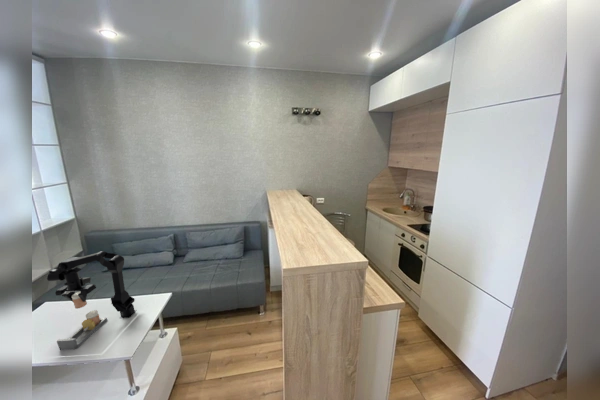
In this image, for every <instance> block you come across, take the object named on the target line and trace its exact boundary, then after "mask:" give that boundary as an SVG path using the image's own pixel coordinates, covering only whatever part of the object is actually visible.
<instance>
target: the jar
mask: <svg viewBox="0 0 600 400" xmlns="http://www.w3.org/2000/svg"><path fill="white" fill-rule="evenodd" d="M80 293H81V292H80V291H76V292H75V293H74V294H73V295H72V296H71V297H72V300H73V302H72V303H73V306H74V308H75V309H82V308H84V307H86V305H88V302H87V300H86V301H85V302H83V301H82V300H81V299H80V297H79V296H78V294H80Z"/></svg>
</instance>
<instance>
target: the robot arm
mask: <svg viewBox="0 0 600 400" xmlns="http://www.w3.org/2000/svg"><path fill="white" fill-rule="evenodd" d="M106 259H108V260H106ZM93 262H98V263H100V265H101V266H103V267H105V268H106V269H107V271H108V272H110V273H111V278H112V285H113V290H114V291H113V292H114V295H112V296H111V297H110V301H111V303H110V305H112V306H113V308H114V309H115V310H116V311H117V312H119V314H120V319H129V318H131V317H132V316H133V315H134V314H135V313H136V312H137V309H136V310H135V307H134V304H133V303H135V301H136V298H134V297H132V296H131V295H129V292H128V291H127V290H125V289H126V288H125V282H124V275H123V267H124V265H125V258H124V256H122V255H119V254H117V253H113V252H108V251H107V252H106V251H104V250H101V251H98V252H95V253H92V254H88V255H84V256H80V257H79V256H74V257H73V256H72V257H68V258H66V259H65V260H63V261H61V262H59V263H58V265H57V268H53V269H50V270H49V271H48V272H49V273H48V274H47V276H46V277H47V278H46V279H47V281H48V282H50V283H51V282H52V283H53V282H60V281H61V282H62V281H64V280H65V283H64V284H63V286H61V287H60V288H58V289H57V290H55V296H62V297H63V298H66V299H68V300H69V301H71V302H72V303H73V300H72V297H71V296H72V295H73V294H74V293H76V292H81V293H80V294H78V296H79V297H80V299H81V300H82V301H83V302H85V301H86V302H87V297H88V294H89V293H91V292H93V291H94V290H96V289H97V286H96V284H93V283H92V284H88V283H91V279H92V278H91V276H88V277H82V276H80V275H79V272H80V271H81V270H82V268H79V267H78V266H82V265H85V264H88V263H93ZM86 284H87V285H86Z"/></svg>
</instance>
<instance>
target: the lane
mask: <svg viewBox="0 0 600 400" xmlns="http://www.w3.org/2000/svg"><path fill="white" fill-rule="evenodd" d="M100 321H101V322H100V323H99V324H98V325H97V326H96V327H95V328H94V329H92V330H86V331H83V330H84V329H83V326H81V328H79V329H78V331H76V332H75V333H74V334H72V335H71V336H70V337H69V338H59V339H57V340H56V343H57V346H58V349H59V351H62V350H63V351H67V350H77V349H78V348H79V347H80V346H81V345H82V344H83V343H84V342H85V341H87V340H88V339H89V337H91V336H92V335H94V334H95V332H96V331H97V330H99V328H100V327H102V325H103V324H105V323H106V321H108V317H104V318H100Z"/></svg>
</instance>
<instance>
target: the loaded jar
mask: <svg viewBox="0 0 600 400" xmlns="http://www.w3.org/2000/svg"><path fill="white" fill-rule="evenodd" d="M98 311H99V310H97V309H94V310H92V311H89V312H87V313H86V314H85V320H92V321H94V323H95V326H97V325H98V324H99V323H100V322H101V321H100V319H101V318H100V314H99V312H98Z"/></svg>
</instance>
